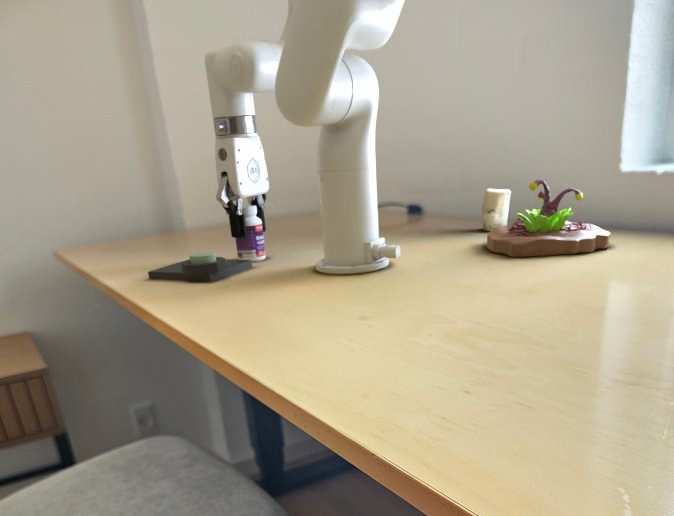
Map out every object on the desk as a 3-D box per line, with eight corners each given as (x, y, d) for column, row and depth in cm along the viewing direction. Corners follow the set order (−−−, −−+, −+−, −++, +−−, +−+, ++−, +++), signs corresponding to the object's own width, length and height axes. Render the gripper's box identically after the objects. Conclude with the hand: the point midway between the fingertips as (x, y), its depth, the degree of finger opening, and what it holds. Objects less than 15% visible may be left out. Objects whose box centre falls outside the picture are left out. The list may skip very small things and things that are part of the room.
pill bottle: (264, 261, 124) (257, 207, 120) (236, 263, 125) (228, 209, 120) (267, 256, 129) (261, 203, 125) (240, 258, 129) (233, 206, 125)
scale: (255, 267, 119) (253, 250, 117) (209, 284, 109) (206, 265, 107) (193, 265, 126) (190, 249, 124) (144, 281, 115) (141, 263, 114)
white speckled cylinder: (509, 227, 139) (510, 186, 136) (510, 231, 135) (511, 189, 131) (481, 228, 140) (482, 188, 137) (481, 232, 136) (482, 191, 132)
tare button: (222, 260, 113) (220, 251, 112) (205, 266, 109) (204, 256, 109) (202, 260, 115) (200, 251, 114) (185, 265, 111) (184, 256, 111)
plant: (473, 242, 125) (474, 179, 120) (571, 233, 127) (576, 170, 122) (508, 261, 108) (511, 188, 103) (623, 250, 109) (631, 177, 104)
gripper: (222, 129, 108) (238, 242, 116) (279, 125, 122) (289, 227, 130) (187, 132, 112) (205, 242, 120) (246, 128, 125) (258, 227, 133)
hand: (249, 233), depth 125 cm, fingers closed on pill bottle, 5 cm apart
